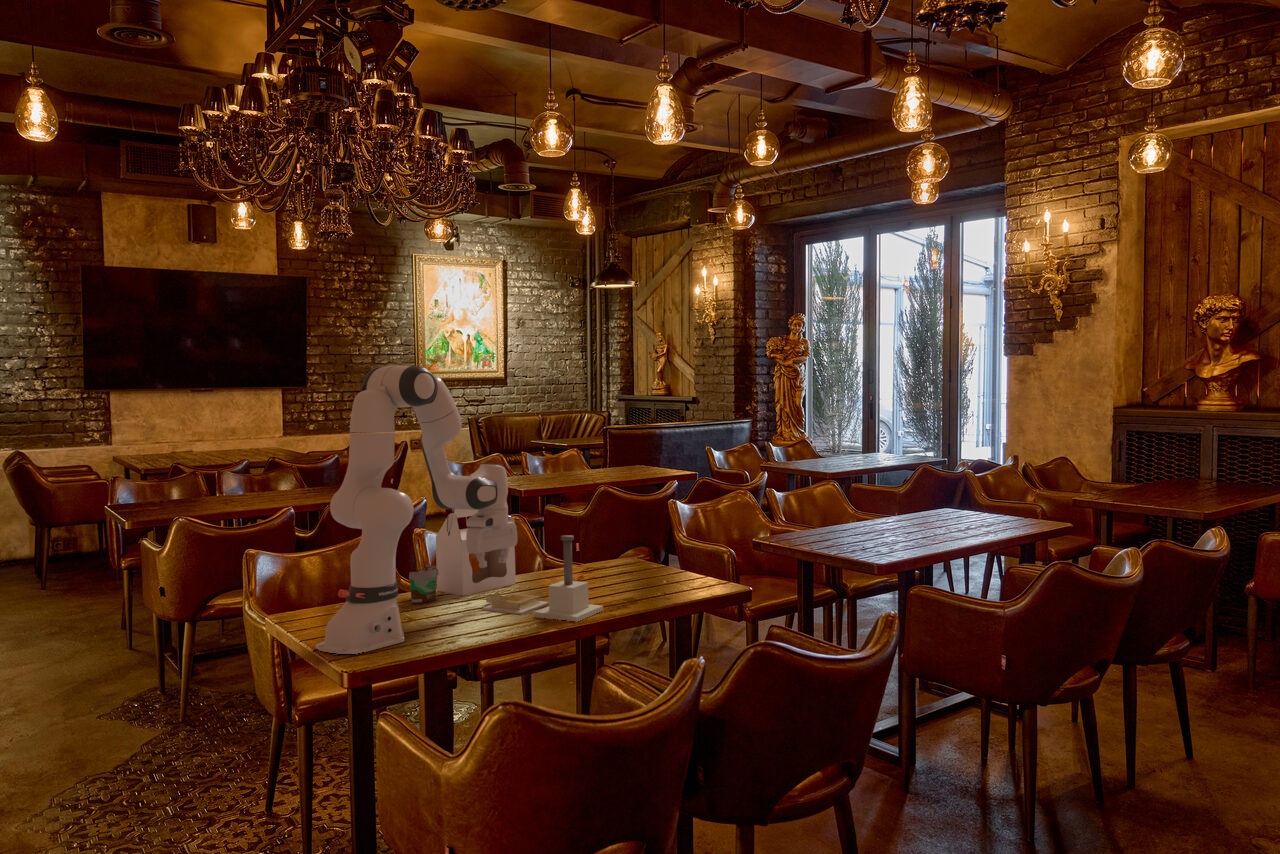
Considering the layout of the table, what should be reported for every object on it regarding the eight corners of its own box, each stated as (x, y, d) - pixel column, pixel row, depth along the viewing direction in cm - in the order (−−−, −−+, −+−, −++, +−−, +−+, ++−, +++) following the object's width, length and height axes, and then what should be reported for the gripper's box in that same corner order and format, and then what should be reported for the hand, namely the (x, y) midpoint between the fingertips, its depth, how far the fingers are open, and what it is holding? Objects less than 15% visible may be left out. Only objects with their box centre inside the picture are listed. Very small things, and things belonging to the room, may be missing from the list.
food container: (428, 606, 266) (428, 572, 266) (409, 606, 268) (408, 572, 267) (446, 597, 278) (445, 565, 278) (427, 596, 280) (426, 564, 279)
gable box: (490, 579, 305) (488, 496, 304) (516, 584, 296) (514, 499, 295) (436, 591, 288) (433, 503, 287) (462, 596, 279) (459, 506, 278)
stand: (576, 622, 244) (575, 541, 243) (534, 617, 251) (532, 538, 250) (603, 610, 257) (601, 533, 256) (562, 606, 263) (560, 531, 262)
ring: (519, 610, 257) (519, 603, 257) (477, 605, 264) (477, 598, 264) (539, 602, 266) (539, 596, 266) (498, 598, 273) (498, 591, 273)
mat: (521, 614, 254) (521, 612, 254) (482, 609, 261) (482, 607, 261) (549, 604, 266) (549, 602, 266) (511, 599, 273) (511, 597, 273)
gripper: (505, 514, 277) (505, 559, 277) (462, 521, 259) (462, 569, 259) (522, 515, 274) (522, 560, 274) (479, 522, 256) (480, 571, 256)
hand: (493, 565), depth 266 cm, fingers open, 8 cm apart
